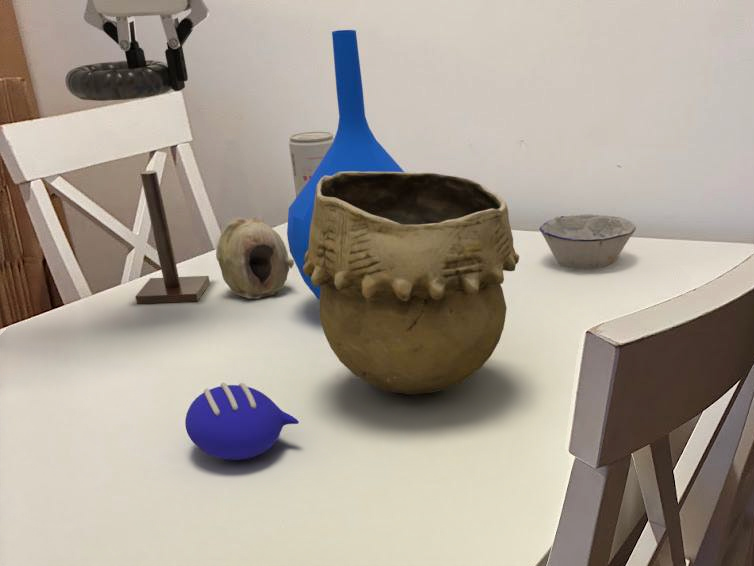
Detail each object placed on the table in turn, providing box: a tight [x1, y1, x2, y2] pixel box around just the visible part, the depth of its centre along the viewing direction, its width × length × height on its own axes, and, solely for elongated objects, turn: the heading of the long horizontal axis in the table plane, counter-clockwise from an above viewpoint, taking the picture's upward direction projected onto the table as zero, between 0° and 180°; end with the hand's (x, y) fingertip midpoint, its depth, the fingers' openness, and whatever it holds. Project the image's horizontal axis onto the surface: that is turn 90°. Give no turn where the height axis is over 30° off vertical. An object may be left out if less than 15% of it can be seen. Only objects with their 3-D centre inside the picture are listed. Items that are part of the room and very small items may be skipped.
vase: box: [286, 29, 405, 302], centre depth 116 cm, size 18×18×30 cm
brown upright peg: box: [135, 170, 211, 305], centre depth 128 cm, size 8×8×15 cm
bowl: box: [539, 213, 637, 270], centre depth 136 cm, size 13×13×5 cm
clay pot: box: [303, 171, 520, 395], centre depth 97 cm, size 21×21×20 cm
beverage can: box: [288, 130, 335, 198], centre depth 145 cm, size 7×6×15 cm
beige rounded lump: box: [215, 215, 295, 300], centre depth 129 cm, size 9×8×10 cm
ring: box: [65, 59, 172, 102], centre depth 110 cm, size 12×12×3 cm
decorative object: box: [184, 381, 299, 461], centre depth 91 cm, size 10×6×10 cm
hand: (161, 88), depth 110 cm, fingers closed on ring, 3 cm apart
